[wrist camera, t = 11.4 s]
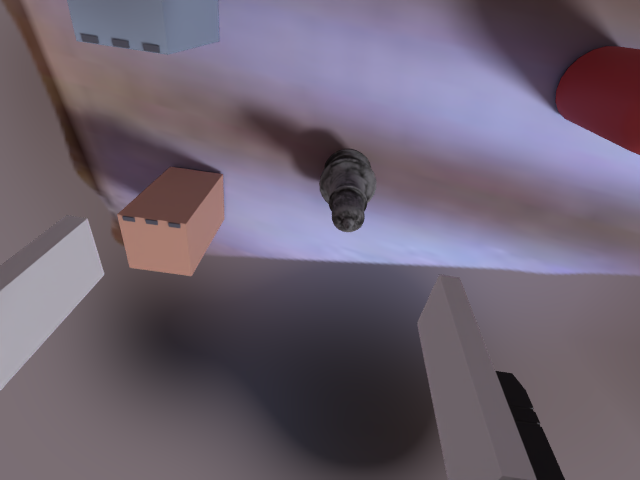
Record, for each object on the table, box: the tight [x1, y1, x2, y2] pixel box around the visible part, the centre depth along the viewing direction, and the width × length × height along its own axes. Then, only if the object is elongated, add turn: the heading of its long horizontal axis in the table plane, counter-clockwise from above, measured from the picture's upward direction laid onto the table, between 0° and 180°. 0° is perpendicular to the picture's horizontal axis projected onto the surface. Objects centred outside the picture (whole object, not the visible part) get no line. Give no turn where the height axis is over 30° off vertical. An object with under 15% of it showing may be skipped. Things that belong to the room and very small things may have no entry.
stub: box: [117, 167, 224, 276], centre depth 36 cm, size 6×6×11 cm
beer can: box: [556, 46, 640, 155], centre depth 27 cm, size 7×7×12 cm
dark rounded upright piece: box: [319, 149, 376, 232], centre depth 34 cm, size 6×6×12 cm
